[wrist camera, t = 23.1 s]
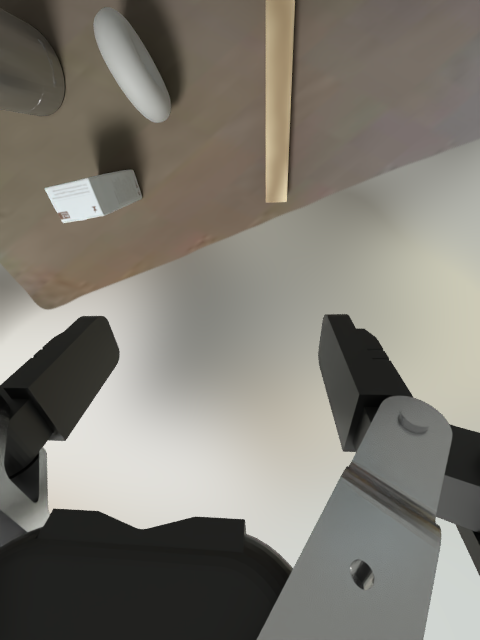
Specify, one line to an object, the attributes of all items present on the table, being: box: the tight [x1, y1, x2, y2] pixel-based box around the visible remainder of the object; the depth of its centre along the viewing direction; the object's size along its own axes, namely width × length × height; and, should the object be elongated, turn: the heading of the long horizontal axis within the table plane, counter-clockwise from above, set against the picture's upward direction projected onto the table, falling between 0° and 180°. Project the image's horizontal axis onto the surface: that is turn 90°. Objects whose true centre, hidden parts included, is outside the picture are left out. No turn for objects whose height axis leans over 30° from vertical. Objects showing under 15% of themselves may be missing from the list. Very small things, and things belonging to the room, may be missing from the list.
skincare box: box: [45, 169, 142, 223], centre depth 35 cm, size 6×4×12 cm
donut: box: [93, 7, 171, 123], centre depth 29 cm, size 10×4×10 cm, turn 28°
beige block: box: [266, 0, 295, 203], centre depth 33 cm, size 3×22×3 cm, turn 3°
